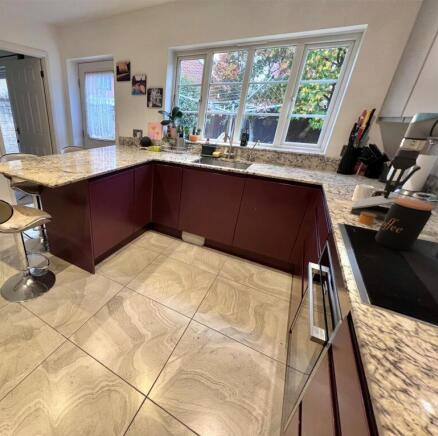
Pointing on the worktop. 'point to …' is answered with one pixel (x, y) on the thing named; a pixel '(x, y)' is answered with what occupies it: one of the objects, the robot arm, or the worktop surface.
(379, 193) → the pottery mug
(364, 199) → the brew lid
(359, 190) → the white cup
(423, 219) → the coffee jar
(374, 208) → the drip tray
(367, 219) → the coffee pod
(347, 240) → the worktop surface
